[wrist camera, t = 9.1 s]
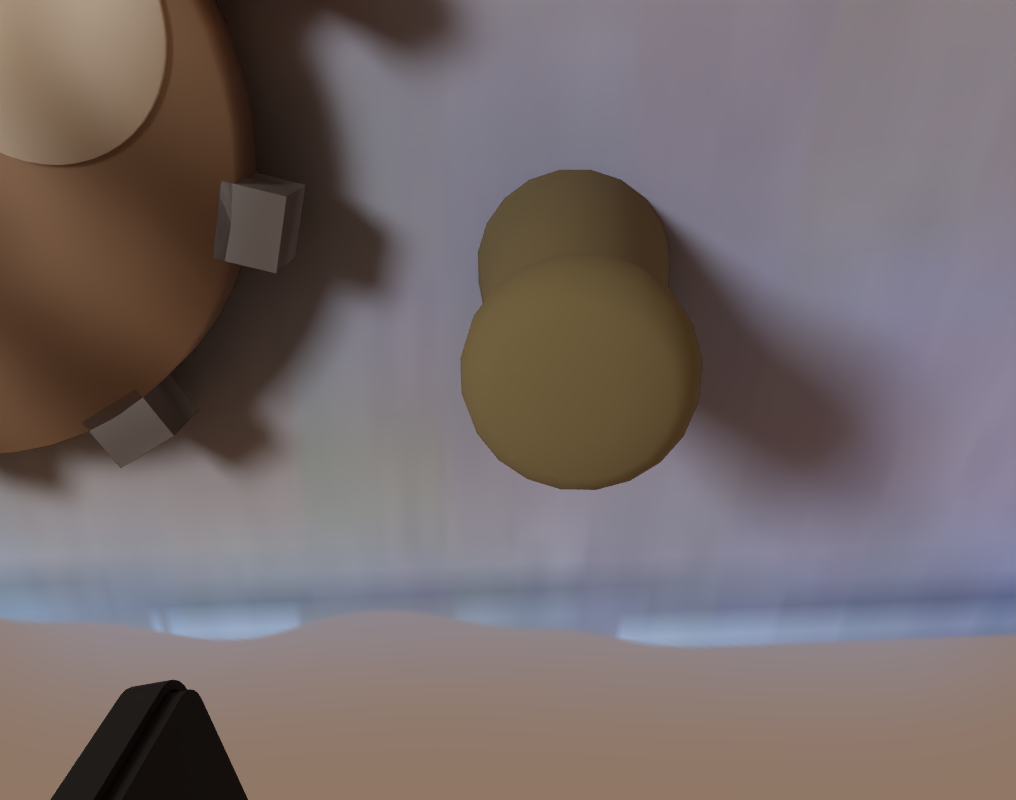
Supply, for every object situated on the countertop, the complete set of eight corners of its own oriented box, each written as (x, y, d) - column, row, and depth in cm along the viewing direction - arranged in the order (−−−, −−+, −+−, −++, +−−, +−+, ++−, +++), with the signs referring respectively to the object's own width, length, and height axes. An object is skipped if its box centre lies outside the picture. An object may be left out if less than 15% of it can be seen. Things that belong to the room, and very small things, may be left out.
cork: (689, 185, 27) (770, 282, 17) (648, 371, 29) (696, 554, 19) (491, 153, 27) (450, 231, 17) (465, 342, 29) (415, 511, 19)
